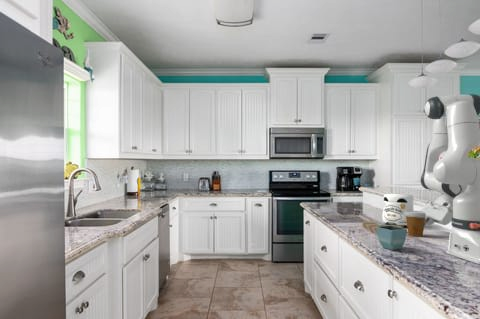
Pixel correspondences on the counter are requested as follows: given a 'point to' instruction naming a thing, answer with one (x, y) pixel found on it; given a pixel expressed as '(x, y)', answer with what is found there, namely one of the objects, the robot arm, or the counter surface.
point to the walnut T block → (374, 226)
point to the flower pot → (391, 236)
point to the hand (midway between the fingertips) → (424, 226)
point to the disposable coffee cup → (415, 223)
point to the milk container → (396, 208)
